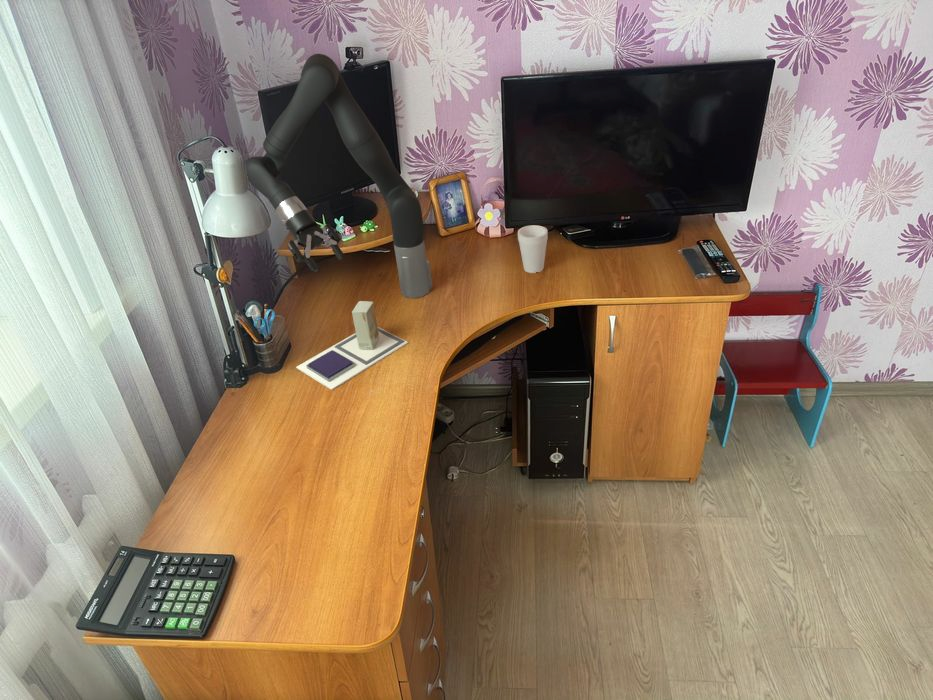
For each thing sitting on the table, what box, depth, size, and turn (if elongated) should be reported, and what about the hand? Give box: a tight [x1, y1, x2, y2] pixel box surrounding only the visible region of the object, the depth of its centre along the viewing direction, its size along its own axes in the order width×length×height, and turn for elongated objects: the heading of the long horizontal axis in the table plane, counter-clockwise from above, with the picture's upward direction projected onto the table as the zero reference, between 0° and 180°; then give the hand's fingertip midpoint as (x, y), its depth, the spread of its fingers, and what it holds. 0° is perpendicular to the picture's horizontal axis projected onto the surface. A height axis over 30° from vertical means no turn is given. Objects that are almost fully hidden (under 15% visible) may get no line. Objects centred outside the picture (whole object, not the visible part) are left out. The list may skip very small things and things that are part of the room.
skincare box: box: [351, 300, 379, 350], centre depth 194 cm, size 6×4×12 cm
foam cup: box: [517, 224, 549, 274], centre depth 223 cm, size 10×9×13 cm
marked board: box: [296, 326, 409, 391], centre depth 194 cm, size 27×16×1 cm, turn 136°
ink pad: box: [306, 350, 356, 382], centre depth 189 cm, size 9×10×2 cm
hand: (329, 264), depth 195 cm, fingers open, 8 cm apart
